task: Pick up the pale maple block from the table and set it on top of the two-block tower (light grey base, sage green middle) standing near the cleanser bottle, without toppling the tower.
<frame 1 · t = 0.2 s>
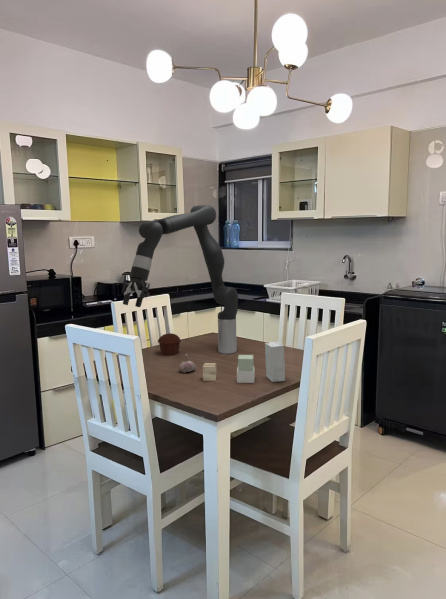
hand: (131, 305, 186), 31 cm above the table, tool tilted 20°, fingers open, 8 cm apart
grey base block: (245, 380, 186), on the table, touching sage block
garlic bulb: (187, 371, 200), on the table
muffin: (169, 353, 229), on the table
maple block: (209, 378, 189), on the table
sage block: (245, 368, 185), point 5 cm above the table, touching grey base block
skincare box: (274, 379, 187), on the table
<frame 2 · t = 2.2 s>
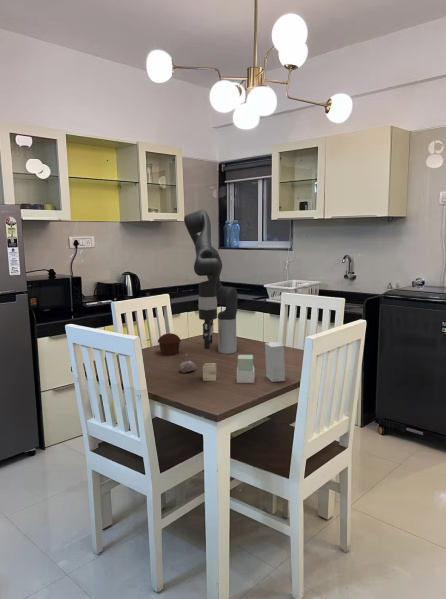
hand: (208, 346, 187), 14 cm above the table, tool pointing down, fingers open, 8 cm apart
nothing on the table moved.
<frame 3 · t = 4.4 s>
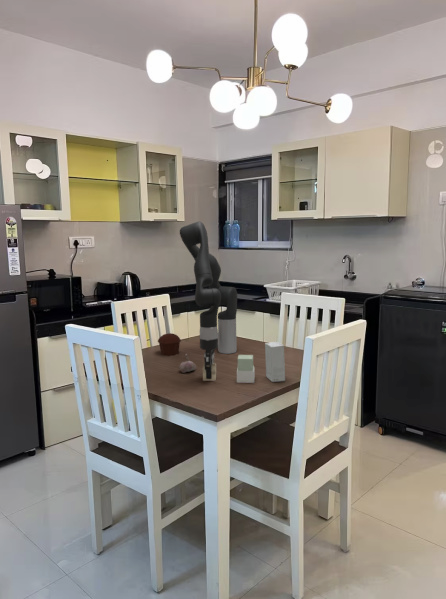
hand: (209, 376, 189), 1 cm above the table, tool pointing down, fingers closed on maple block, 5 cm apart
maple block: (209, 378, 189), on the table, touching gripper
everything else where it was.
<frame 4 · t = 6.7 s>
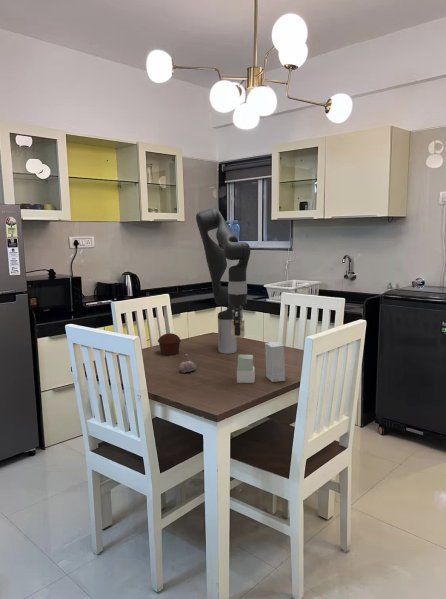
hand: (238, 333, 184), 20 cm above the table, tool pointing down, fingers closed on maple block, 5 cm apart
maple block: (237, 335, 184), point 19 cm above the table, touching gripper
everything else where it was.
when the fingers open (12 cm above the table, at t = 9.5 s): maple block drops 1 cm, resting on sage block.
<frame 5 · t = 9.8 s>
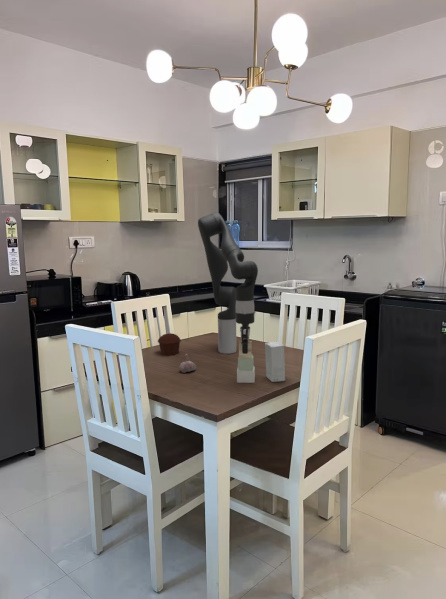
hand: (245, 350, 185), 12 cm above the table, tool pointing down, fingers open, 7 cm apart
maple block: (245, 356, 185), point 10 cm above the table, touching sage block
sage block: (245, 368, 186), point 5 cm above the table, touching grey base block, maple block
everything else where it was.
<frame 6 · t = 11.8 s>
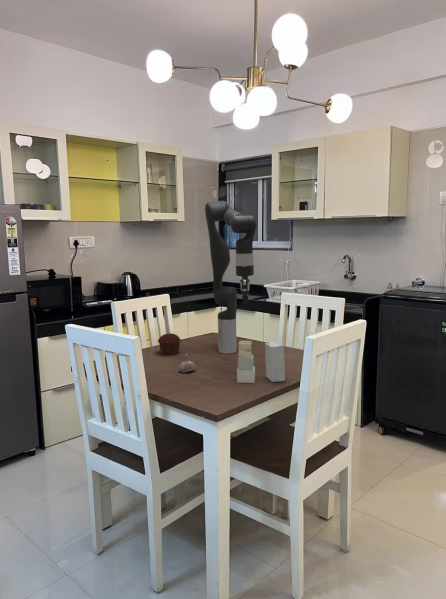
hand: (245, 302, 192), 31 cm above the table, tool pointing down, fingers open, 8 cm apart
nothing on the table moved.
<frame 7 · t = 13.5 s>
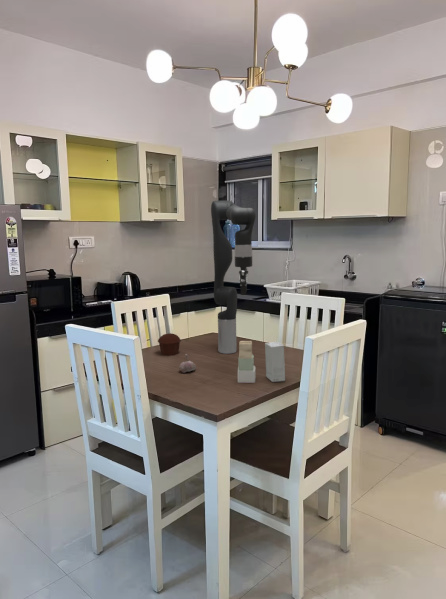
hand: (243, 293, 195), 34 cm above the table, tool pointing down, fingers open, 8 cm apart
nothing on the table moved.
at the end: maple block 0.5 cm off-centre on the sage block, point 5.0 cm above the sage block's base; sage block tilted 0°; the gripper is holding nothing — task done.
